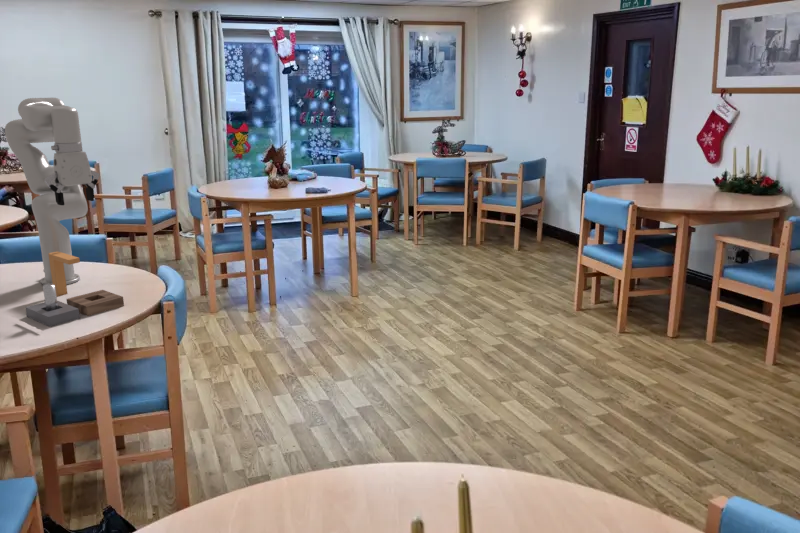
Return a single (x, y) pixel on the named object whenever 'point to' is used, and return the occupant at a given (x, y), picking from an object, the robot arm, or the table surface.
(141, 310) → the table surface
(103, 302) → the socket block
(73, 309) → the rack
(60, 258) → the orange angle bracket
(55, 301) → the grey metal rod
